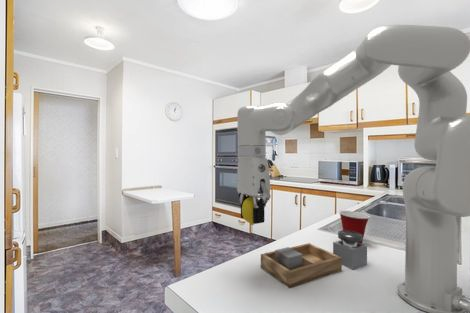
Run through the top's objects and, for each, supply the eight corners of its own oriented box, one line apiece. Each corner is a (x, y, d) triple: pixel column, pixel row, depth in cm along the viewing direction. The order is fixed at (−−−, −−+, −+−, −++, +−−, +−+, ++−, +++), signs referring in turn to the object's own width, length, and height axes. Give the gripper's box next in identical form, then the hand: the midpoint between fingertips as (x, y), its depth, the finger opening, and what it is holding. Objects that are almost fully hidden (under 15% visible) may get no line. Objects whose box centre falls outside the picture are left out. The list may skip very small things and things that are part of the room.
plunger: (367, 262, 76) (367, 235, 76) (352, 267, 73) (352, 238, 73) (347, 254, 82) (347, 229, 82) (333, 258, 79) (333, 232, 79)
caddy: (341, 270, 72) (341, 250, 72) (289, 288, 62) (289, 265, 62) (309, 254, 83) (309, 237, 83) (260, 267, 74) (260, 247, 74)
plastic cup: (374, 250, 88) (375, 217, 87) (343, 248, 89) (343, 215, 89) (363, 239, 98) (364, 210, 98) (335, 238, 100) (335, 209, 100)
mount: (366, 264, 76) (367, 245, 76) (352, 269, 73) (352, 249, 73) (347, 256, 82) (347, 238, 82) (333, 260, 79) (333, 242, 79)
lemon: (249, 221, 69) (249, 193, 69) (266, 224, 66) (266, 195, 66) (237, 225, 65) (237, 195, 65) (254, 229, 62) (254, 198, 61)
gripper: (283, 152, 60) (283, 226, 60) (247, 153, 75) (247, 211, 75) (257, 152, 56) (258, 230, 56) (225, 153, 71) (225, 215, 71)
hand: (252, 219), depth 65 cm, fingers closed on lemon, 5 cm apart
